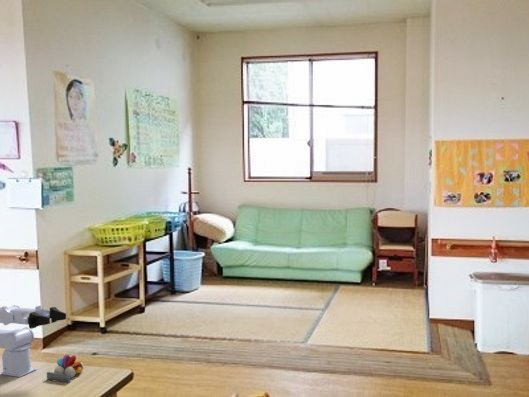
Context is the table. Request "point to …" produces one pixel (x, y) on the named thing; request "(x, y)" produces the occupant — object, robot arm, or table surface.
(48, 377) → the rail
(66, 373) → the rainbow disc baby rattle
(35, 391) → the table surface
